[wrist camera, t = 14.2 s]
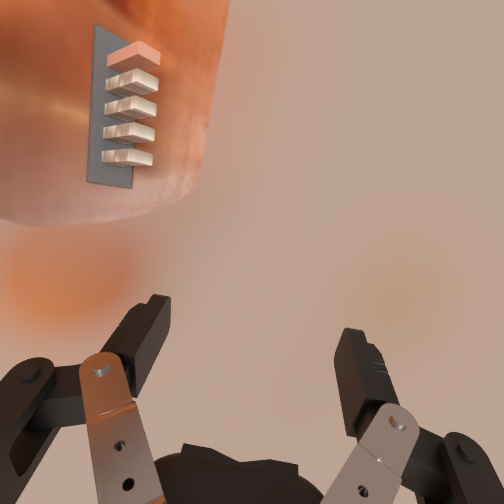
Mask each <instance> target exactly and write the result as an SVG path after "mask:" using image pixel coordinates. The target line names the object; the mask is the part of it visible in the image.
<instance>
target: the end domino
mask: <svg viewBox="0 0 504 504" xmlns="http://www.w3.org/2000/svg"><path fill="white" fill-rule="evenodd" d="M159 65H160V52H158V51H157V50H155V49H153V48H151V47H150V46H148V45H146V44H145V43H143V42H141V41H137V42H134V43H132V44H130V45H128V46H126V47H124V48H122V49H119V50H117V51H115V52H113V53H111V54H109V55H107V67H108V68H110V69H113V70H115V71H117V72H119V73H121V74H123V73H125V72H128V71H131V70H133V69H136V68H138V69H140V70H142V71H145V70H148V69H150V68H153V67H156V66H159Z"/></svg>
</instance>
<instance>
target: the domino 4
mask: <svg viewBox="0 0 504 504" xmlns="http://www.w3.org/2000/svg"><path fill="white" fill-rule="evenodd" d="M102 162H103V163H108V164H113V165H117V166H152V162H153V154H151V153H147V152H144V151H140V150H136V149H132V148H131V149H120V150H109V151H102Z"/></svg>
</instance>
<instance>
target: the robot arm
mask: <svg viewBox="0 0 504 504" xmlns="http://www.w3.org/2000/svg"><path fill="white" fill-rule="evenodd" d="M170 317H171V298H170V297H169V296H163V295H157V294H153V295H152V296H151V298H150V300H149V301H148V303H147V304H142V303H139V304H137V305H136V306H134V307H133V308H131V309H130V310H129V311H128V313H127V314H126V316H125V317H124V319H123V320H122V321H121V323H120V324H119V326H118V327H117V328H116V330H115V331H114V332H113V334H112V335H111V337H110V338H109V339H108V341H107V342H106V344H105V345H104V346H103V348H102V349H101V351H100V352H99V353H96V354H94V355H92V356H90V357H88V358H87V359H86V360H85V361H84V362H83V363H82V364H78V365H72V366H61V367H54V365H53V363H52V361H51V360H49V359H47V358H42V357H39V358H31V359H27V360H25V361H23V362H21V363H19V364H17V365H16V366H14V367H13V368H12V369H11V370H10V371H9V372H8V373H7V374H6V375H5V376H4V377H3V379H2V380H1V381H0V504H15V503H16V502H17V500H18V498H19V497H20V495H21V493H22V491H23V490H24V488H25V487H26V485H27V483H28V482H29V480H30V478H31V477H32V475H33V473H34V472H35V470H36V468H37V466H38V465H39V463H40V461H41V460H42V458H43V456H44V455H45V453H46V451H47V450H48V448H49V446H50V445H51V443H52V441H53V440H54V438H55V436H56V435H57V433H58V431H59V430H60V428H61V427H66V426H73V425H80V424H86V426H87V432H88V438H89V445H90V452H91V458H92V465H93V472H94V478H95V485H96V491H97V498H98V504H392V503H393V501H394V498H395V496H396V494H397V492H398V489H399V487H400V485H402V486H404V487H406V488H408V489H410V490H412V491H413V492H415V495H416V499H417V503H418V504H504V488H503V486H502V484H501V482H500V480H499V478H498V476H497V474H496V472H495V470H494V468H493V466H492V464H491V462H490V460H489V458H488V456H487V454H486V453H485V452H484V450H483V449H482V448H481V447H480V446H479V445H478V444H477V443H476V442H475V441H474V440H472V439H471V438H469V437H468V436H466V435H464V434H461V433H458V432H450V433H448V434H447V435H446V436H445V437H444V438H442V437H440V436H438V435H436V434H434V433H431V432H429V431H427V430H425V429H423V428H421V427H419V426H418V423H417V421H416V420H415V418H414V417H413V416H412V415H411V414H410V413H409V412H408V411H407V410H406V409H404V408H403V407H401V406H400V404H399V401H398V399H397V396H396V393H395V391H394V387H393V385H392V382H391V379H390V376H389V375H388V371H387V368H386V366H385V363H384V360H383V357H382V354H381V353H380V352H379V350H378V349H377V348H376V347H375V345H374V344H370V343H367V340H366V337H365V334H364V332H363V331H362V330H357V329H351V328H345V329H344V331H343V333H342V336H341V338H340V341H339V344H338V346H337V349H336V352H335V356H334V367H335V372H336V378H337V384H338V389H339V395H340V401H341V406H342V412H343V418H344V423H345V429H346V434H347V436H351V437H356V438H357V445H356V446H355V448H354V450H353V451H352V453H351V455H350V456H349V458H348V459H347V461H346V462H345V464H344V466H343V467H342V469H341V471H340V472H339V474H338V475H337V477H336V478H335V480H334V482H333V483H332V485H331V486H330V488H329V490H328V491H327V493H326V495H325V496H323V494H322V493H321V492H320V491H319V490H318V489H317V488H316V487H315V486H314V485H313V484H311V483H310V482H309V481H308V480H306V479H305V478H303V477H301V476H299V475H298V465H297V464H292V463H286V462H281V461H276V460H270V459H269V460H259V461H249V462H238V461H236V460H234V459H232V458H230V457H228V456H225V455H223V454H222V453H219V452H217V451H216V450H214V449H211V448H206V447H200V446H195V445H190V444H185V443H184V444H183V447H182V451H181V453H174V454H170V455H167V456H164V457H162V458H159V459H158V460H156V461H153V457H152V454H151V451H150V448H149V444H148V441H147V438H146V434H145V431H144V428H143V424H142V421H141V418H140V415H139V411H138V408H137V405H136V402H135V401H133V400H132V397H134V398H137V397H138V395H139V393H140V391H141V389H142V387H143V385H144V383H145V381H146V378H147V376H148V374H149V372H150V370H151V368H152V366H153V364H154V362H155V360H156V358H157V356H158V354H159V352H160V349H161V347H162V345H163V343H164V341H165V339H166V337H167V335H168V332H169V328H170Z"/></svg>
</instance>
